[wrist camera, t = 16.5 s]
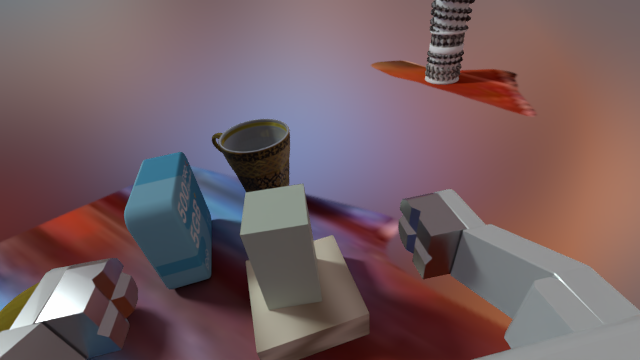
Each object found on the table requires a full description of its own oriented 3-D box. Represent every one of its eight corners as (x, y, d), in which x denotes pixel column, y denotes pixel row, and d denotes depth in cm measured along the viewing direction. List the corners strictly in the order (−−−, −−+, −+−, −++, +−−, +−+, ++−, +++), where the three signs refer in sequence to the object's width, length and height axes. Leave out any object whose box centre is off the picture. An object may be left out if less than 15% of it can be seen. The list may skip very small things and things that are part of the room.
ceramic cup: (308, 176, 50) (300, 121, 44) (281, 216, 43) (267, 156, 37) (243, 166, 55) (228, 115, 49) (208, 200, 48) (186, 145, 42)
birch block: (266, 373, 27) (257, 353, 25) (253, 283, 35) (245, 261, 33) (369, 335, 29) (369, 313, 27) (335, 257, 37) (332, 235, 34)
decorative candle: (468, 80, 77) (491, -40, 63) (437, 87, 76) (453, -34, 61) (445, 71, 85) (462, -39, 70) (416, 77, 83) (427, -34, 68)
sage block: (268, 310, 28) (239, 235, 22) (269, 266, 32) (245, 192, 26) (322, 301, 28) (308, 224, 22) (316, 258, 32) (303, 183, 26)
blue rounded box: (211, 284, 35) (171, 206, 28) (171, 296, 34) (119, 219, 27) (212, 217, 44) (182, 146, 37) (180, 225, 44) (143, 155, 37)
